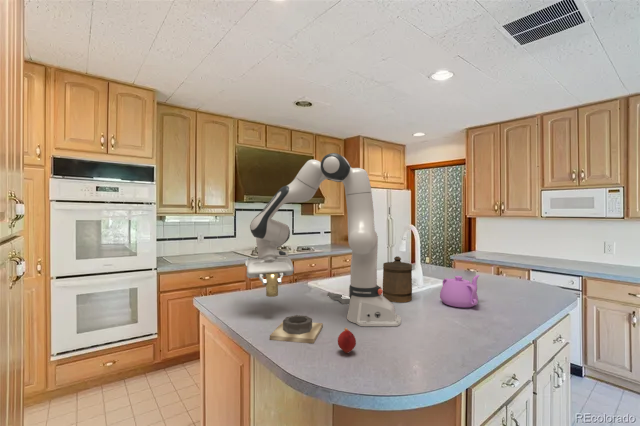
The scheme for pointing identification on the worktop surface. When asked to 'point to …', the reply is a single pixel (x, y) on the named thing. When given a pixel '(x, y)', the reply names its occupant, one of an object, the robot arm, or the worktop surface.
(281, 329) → the jig board
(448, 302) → the teapot
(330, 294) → the cloth
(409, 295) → the wooden container
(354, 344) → the onion
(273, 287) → the brass cylinder peg
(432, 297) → the worktop surface
